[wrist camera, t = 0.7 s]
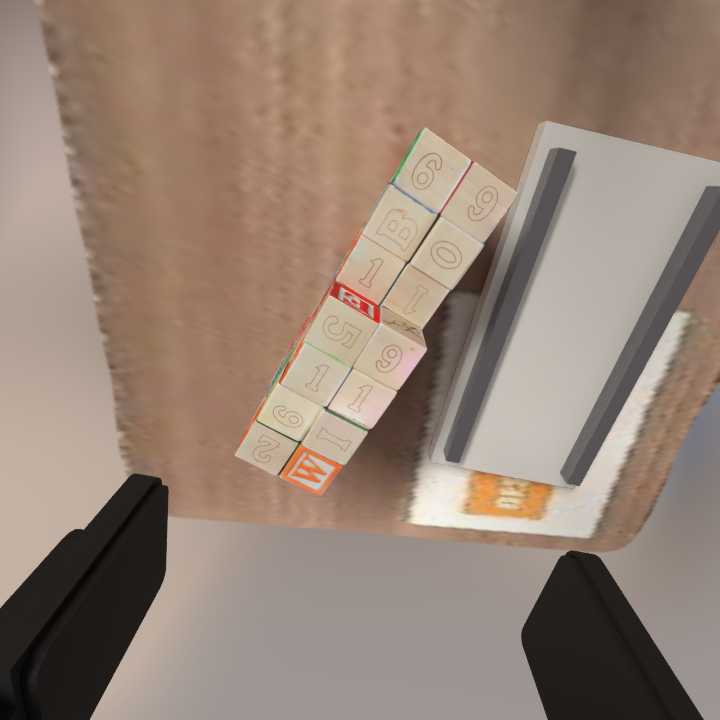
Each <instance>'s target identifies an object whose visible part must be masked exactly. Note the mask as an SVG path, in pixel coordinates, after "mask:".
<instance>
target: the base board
mask: <svg viewBox="0 0 720 720" xmlns="http://www.w3.org/2000/svg"><path fill="white" fill-rule="evenodd" d="M516 192H518V193H519V195H518V197H517V198H516V200H515V201H514V202H513V204H512V205H511V207H510V210H509V213H508V216H507V219H506V222H505V225H504V228H503V231H502V234H501V237H500V240H499V243H498V246H497V249H496V252H495V255H494V258H493V260H492V263H491V266H490V269H489V272H488V275H487V278H486V281H485V284H484V287H483V290H482V293H481V296H480V299H479V302H478V305H477V308H476V311H475V314H474V317H473V320H472V323H471V326H470V329H469V332H468V335H467V338H466V341H465V344H464V347H463V350H462V353H461V356H460V359H459V362H458V365H457V368H456V371H455V374H454V377H453V380H452V383H451V386H450V389H449V392H448V395H447V398H446V401H445V403H444V406H443V409H442V412H441V415H440V418H439V421H438V424H437V427H436V430H435V433H434V436H433V439H432V442H431V445H430V448H429V451H428V453H429V458H430V462H434V463H439V464H444V465H449V466H455V467H460V468H465V469H471V470H476V471H481V472H487V473H492V474H497V475H503V476H508V477H513V478H519V479H524V480H529V481H535V482H540V483H545V484H551V485H556V486H561V487H567V488H572V489H574V487H575V485H577V486H580V484H581V482H582V481H583V479H584V477H585V475H586V473H587V471H588V470H589V468H590V466H591V464H592V462H593V460H594V459H595V457H596V455H597V453H598V451H599V449H600V448H601V446H602V444H603V442H604V440H605V438H606V437H607V435H608V433H609V431H610V429H611V427H612V426H613V424H614V422H615V420H616V418H617V416H618V415H619V413H620V411H621V409H622V407H623V406H624V404H625V402H626V400H627V398H628V396H629V395H630V393H631V391H632V389H633V387H634V385H635V384H636V382H637V380H638V378H639V376H640V374H641V373H642V371H643V369H644V367H645V365H646V363H647V362H648V360H649V358H650V356H651V354H652V352H653V351H654V349H655V347H656V345H657V343H658V341H659V340H660V338H661V336H662V334H663V332H664V330H665V329H666V327H667V325H668V323H669V321H670V320H671V318H672V316H673V314H674V312H675V310H676V309H677V307H678V305H679V303H680V301H681V299H682V298H683V296H684V294H685V292H686V290H687V288H688V287H689V285H690V283H691V281H692V279H693V277H694V276H695V274H696V272H697V270H698V268H699V266H700V265H701V263H702V261H703V259H704V257H705V255H706V254H707V252H708V250H709V248H710V246H711V244H712V243H713V241H714V239H715V237H716V235H717V234H718V232H719V230H720V162H717V161H713V160H708V159H704V158H700V157H696V156H692V155H687V154H683V153H679V152H675V151H671V150H667V149H662V148H658V147H654V146H650V145H646V144H641V143H637V142H633V141H629V140H625V139H621V138H616V137H612V136H608V135H604V134H600V133H596V132H591V131H587V130H583V129H579V128H575V127H570V126H566V125H562V124H558V123H554V122H550V121H545V122H542V123H539V124H538V126H537V129H536V132H535V135H534V138H533V141H532V144H531V147H530V150H529V153H528V156H527V159H526V162H525V165H524V168H523V171H522V174H521V177H520V180H519V183H518V186H517V189H516Z"/></svg>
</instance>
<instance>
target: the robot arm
mask: <svg viewBox="0 0 720 720" xmlns="http://www.w3.org/2000/svg"><path fill="white" fill-rule="evenodd" d="M167 520H168V486H165V485H162V480H161V478H158V477H153V476H147V475H141V474H136V473H135V474H132V475H131V476H130V477H129V478H128V479H127V480H126V481H125V482H124V484H123V485H122V486H121V487H120V488H119V490H118V491H117V492H116V493H115V494H114V495H113V496H112V498H111V499H110V500H109V501H108V503H106V505H105V506H104V507H103V508H102V509H101V510H100V512H99V513H98V514H97V515H96V516H95V517H94V519H93V520H92V521H91V522H90V523H89V524H88V526H87V527H86V528H85V529H84V530H82V529H75V530H73V531H71V532H70V533H68V534H67V535H66V536H65V537H64V538H63V539H62V540H61V541H60V542H59V543H58V545H57V546H56V547H55V548H54V549H53V550H52V551H51V552H50V553H49V555H48V556H47V557H46V558H45V559H44V560H43V561H42V562H41V563H40V565H39V566H38V567H37V568H36V569H35V570H34V571H33V573H32V574H31V575H30V576H29V577H28V578H27V579H26V580H25V581H24V582H23V583H22V585H21V586H20V587H19V588H18V589H17V590H16V591H15V592H14V594H13V595H12V596H11V597H10V598H9V599H8V600H7V601H6V602H5V604H4V605H3V606H2V607H1V608H0V720H90V718H91V716H92V714H93V712H94V710H95V708H96V706H97V705H98V703H99V701H100V699H101V697H102V695H103V694H104V692H105V690H106V688H107V686H108V684H109V682H110V680H111V679H112V677H113V675H114V673H115V671H116V669H117V667H118V666H119V664H120V662H121V660H122V658H123V656H124V654H125V652H126V651H127V649H128V647H129V645H130V643H131V641H132V639H133V638H134V636H135V634H136V632H137V630H138V628H139V626H140V624H141V623H142V621H143V619H144V617H145V615H146V613H147V611H148V609H149V608H150V606H151V604H152V602H153V600H154V598H155V596H156V595H157V593H158V591H159V589H160V587H161V585H162V582H163V580H164V576H165V572H166V551H167ZM521 638H522V645H523V648H524V651H525V654H526V657H527V660H528V663H529V666H530V669H531V671H532V675H533V677H534V681H535V683H536V686H537V689H538V692H539V695H540V698H541V701H542V704H543V707H544V710H545V713H546V716H547V718H548V720H703V718H702V716H701V715H700V713H699V712H698V710H697V708H696V707H695V705H694V704H693V702H692V701H691V699H690V697H689V696H688V694H687V693H686V691H685V690H684V688H683V687H682V685H681V684H680V682H679V680H678V679H677V677H676V676H675V674H674V673H673V671H672V670H671V668H670V666H669V665H668V663H667V662H666V660H665V659H664V657H663V655H662V654H661V652H660V651H659V649H658V647H657V646H656V644H655V643H654V642H653V640H652V638H651V637H650V635H649V633H648V632H647V630H646V629H645V627H644V626H643V624H642V623H641V621H640V619H639V618H638V616H637V615H636V613H635V612H634V610H633V609H632V607H631V605H630V604H629V602H628V601H627V599H626V597H625V596H624V594H623V593H622V591H621V590H620V588H619V587H618V585H617V583H616V582H615V580H614V579H613V577H612V576H611V574H610V573H609V571H608V569H607V568H606V566H605V565H604V563H603V562H602V560H601V559H600V558H599V557H598V556H597V555H595V554H589V553H584V552H578V551H569V552H567V553H566V555H565V556H561V557H560V558H559V560H558V562H557V564H556V566H555V568H554V570H553V571H552V573H551V575H550V577H549V579H548V581H547V583H546V584H545V586H544V588H543V590H542V592H541V594H540V596H539V598H538V600H537V602H536V604H535V605H534V608H533V609H532V611H531V613H530V615H529V617H528V619H527V621H526V623H525V625H524V627H523V629H522V634H521Z"/></svg>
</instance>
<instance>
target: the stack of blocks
mask: <svg viewBox="0 0 720 720" xmlns="http://www.w3.org/2000/svg"><path fill="white" fill-rule="evenodd" d="M518 195H519V193H518V192H516V191H515V190H514V189H512V188H511V187H509V186H508V185H507V184H505V183H504V182H502V181H501V180H500V179H498V178H497V177H495V176H494V175H493V174H491V173H490V172H489V171H487V170H486V169H484V168H483V167H481V166H480V165H479V164H477V163H476V162H473V161H471V160H470V159H469V158H467V157H466V156H465V155H463V154H462V153H461V152H459V151H458V150H456V149H455V148H454V147H452V146H451V145H449V144H448V143H446V142H445V141H444V140H442V139H441V138H440V137H438V136H436V135H435V134H434V133H433V132H431V131H430V130H428V129H427V128H423V129H422V130H421V131H420V132H419V133H418V135H417V137H416V138H415V140H414V142H413V143H412V144H411V146H410V148H409V150H408V151H407V153H406V155H405V157H404V158H403V160H402V162H401V163H400V165H399V167H398V168H397V170H396V172H395V173H394V175H393V177H392V178H391V180H390V182H389V183H388V184H387V185H386V187H385V188H384V190H383V192H382V194H381V195H380V197H379V199H378V200H377V202H376V204H375V206H374V207H373V209H372V211H371V212H370V214H369V216H368V217H367V219H366V221H365V222H364V224H363V226H362V227H361V229H360V231H359V232H358V234H357V236H356V238H355V239H354V241H353V243H352V244H351V246H350V248H349V249H348V251H347V253H346V255H345V258H344V260H343V261H342V263H341V265H340V266H339V268H338V270H337V271H336V273H335V275H334V276H333V278H332V280H331V281H330V283H329V285H328V287H327V289H326V290H325V292H324V294H323V295H322V297H321V299H320V300H319V302H318V304H317V305H316V307H315V309H314V311H313V312H312V314H311V316H310V317H309V318H308V319H307V321H306V322H305V324H304V326H303V327H302V329H301V331H300V332H299V334H298V336H297V337H296V339H295V341H294V342H293V344H292V346H291V347H290V348H289V350H288V352H287V353H286V355H285V357H284V358H283V360H282V362H281V363H280V365H279V367H278V368H277V370H276V372H275V374H274V376H273V378H272V380H271V382H270V384H269V388H268V390H267V392H266V394H265V396H264V398H263V400H262V402H261V403H260V405H259V407H258V409H257V410H256V412H255V414H254V416H253V418H252V420H251V422H250V424H249V427H248V429H247V431H246V433H245V434H244V436H243V438H242V440H241V442H240V444H239V446H238V448H237V450H236V452H235V456H236V457H238V458H240V459H242V460H245V461H247V462H249V463H251V464H253V465H255V466H257V467H259V468H261V469H263V470H265V471H267V472H269V473H270V474H272V475H274V476H276V475H278V474H279V476H280V477H281V478H282V479H284V480H285V481H288V482H290V483H292V484H294V485H296V486H298V487H300V488H303V489H305V490H307V491H309V492H311V493H313V494H316V495H318V496H322V494H323V493H324V492H325V490H326V489H327V488H328V486H329V485H330V483H331V482H332V481H333V479H334V478H335V477H336V475H337V474H338V472H339V471H340V470H341V468H342V467H343V465H345V464H347V462H348V461H349V459H350V458H351V457H352V455H353V454H354V452H355V451H356V450H357V448H358V447H359V445H360V444H361V443H362V441H363V440H364V438H365V437H366V435H367V433H368V430H369V429H372V428H373V427H374V426H375V424H376V423H377V422H378V420H379V419H380V417H381V416H382V414H383V413H384V412H385V410H386V409H387V407H388V406H389V405H390V403H391V402H392V400H393V399H394V397H395V396H396V394H397V391H398V390H399V389H400V388H401V387H402V385H403V384H404V382H405V381H406V379H407V378H408V377H409V375H410V374H411V372H412V371H413V370H414V368H415V367H416V365H417V364H418V362H419V361H420V360H421V358H422V357H423V355H424V354H425V353H426V351H427V347H426V344H425V340H424V336H423V332H422V330H423V328H424V327H425V326H426V324H427V323H428V321H429V320H430V319H431V317H432V316H433V314H434V313H435V312H436V310H437V309H438V307H439V306H440V305H441V303H442V302H443V301H444V299H445V298H446V296H447V295H448V294H449V292H450V291H451V290H453V289H454V288H455V286H456V285H457V284H458V282H459V281H460V279H461V278H462V277H463V275H464V274H465V273H466V271H467V270H468V269H469V267H470V266H471V264H472V263H473V261H474V260H475V259H476V257H477V256H478V254H479V253H480V252H481V250H482V249H483V247H484V242H485V241H486V240H487V238H488V237H489V236H490V234H491V233H492V232H493V230H494V229H495V228H496V226H497V225H498V223H499V222H500V220H501V219H502V218H503V216H504V215H505V214H506V212H507V211H508V209H509V208H510V207H511V205H512V204H513V202H514V201H515V200H516V198H517V197H518Z"/></svg>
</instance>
